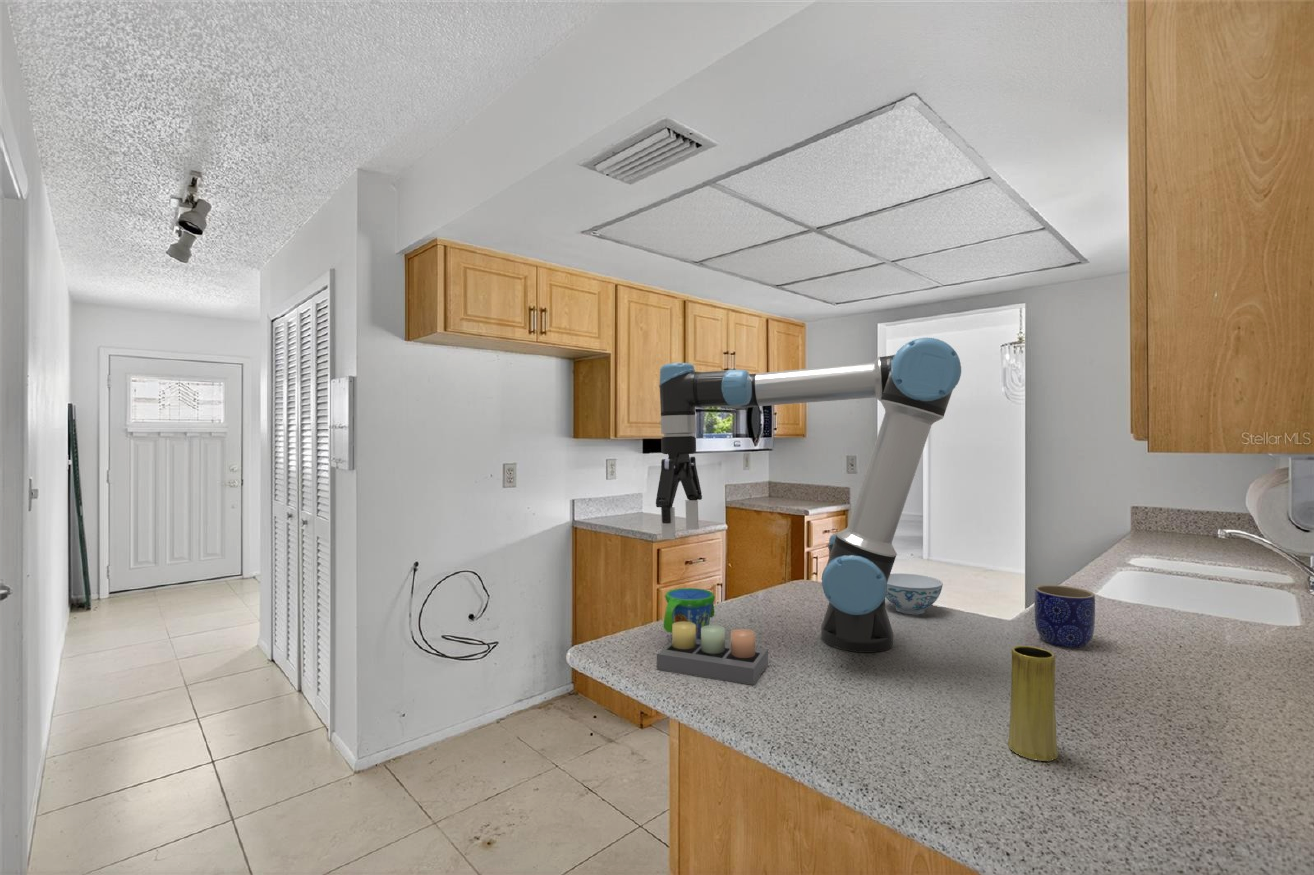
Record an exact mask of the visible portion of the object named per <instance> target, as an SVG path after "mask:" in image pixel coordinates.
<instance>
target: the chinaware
mask: <svg viewBox="0 0 1314 875" xmlns="http://www.w3.org/2000/svg"><path fill="white" fill-rule="evenodd" d="M942 589H943V582H942V580H941V579H938V578H936V577H932V576H928V575H922V574H917V573H916V574H915V573H890V576H889V579H888V582H887V594H886V596H885V599H887V601H888V602H889V603H890V604H892V605H893V606H894V607H895V610H896V611H897V612H899V613H902V614H907V615H922V614H924V613H925V611H926V609H928V608H930V607H931V606H932V605H934V603H936V601H937V600H938V599H939V597H940V595H941V592H942Z"/></svg>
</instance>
